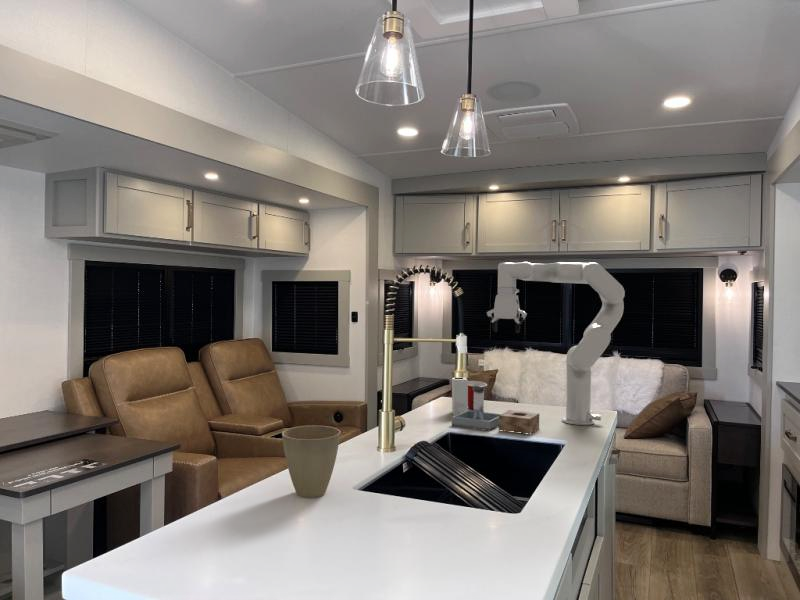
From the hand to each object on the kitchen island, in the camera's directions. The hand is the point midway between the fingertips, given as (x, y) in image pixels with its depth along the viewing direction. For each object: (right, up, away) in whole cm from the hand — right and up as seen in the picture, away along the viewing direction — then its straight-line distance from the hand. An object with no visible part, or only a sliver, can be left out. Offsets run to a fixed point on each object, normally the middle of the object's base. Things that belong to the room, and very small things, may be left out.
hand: (506, 332), depth 247 cm
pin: (-13, -35, -12) cm, 40 cm away
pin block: (+1, -37, -20) cm, 42 cm away
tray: (-13, -36, -12) cm, 40 cm away
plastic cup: (-10, -36, +21) cm, 43 cm away
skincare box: (-19, -36, +9) cm, 42 cm away
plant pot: (-68, -36, -96) cm, 123 cm away
